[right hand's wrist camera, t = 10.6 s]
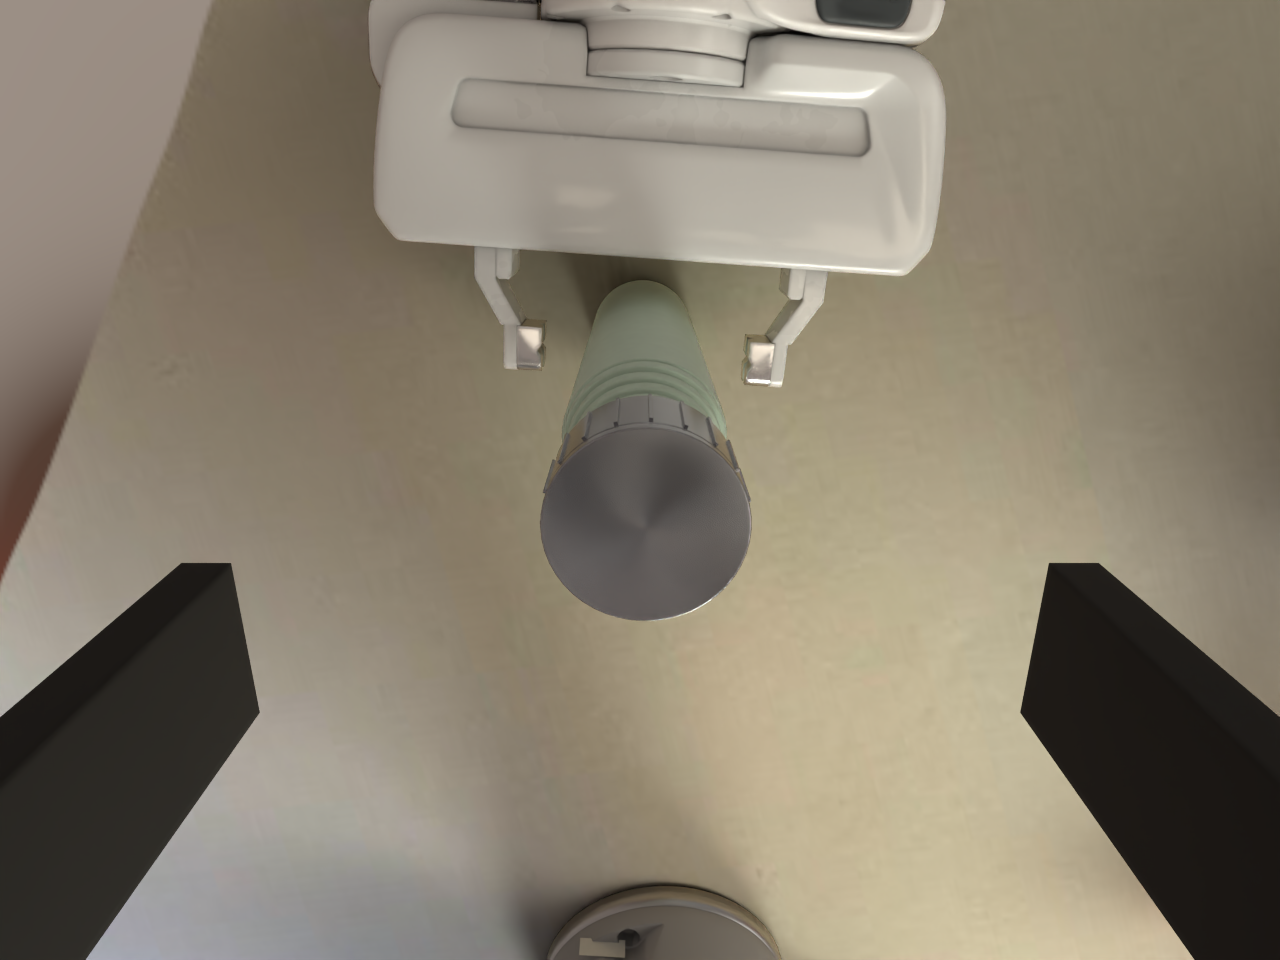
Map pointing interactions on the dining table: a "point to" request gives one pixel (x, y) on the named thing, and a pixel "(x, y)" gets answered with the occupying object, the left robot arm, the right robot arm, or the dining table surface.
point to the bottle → (643, 355)
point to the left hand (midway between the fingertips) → (643, 375)
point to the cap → (645, 509)
